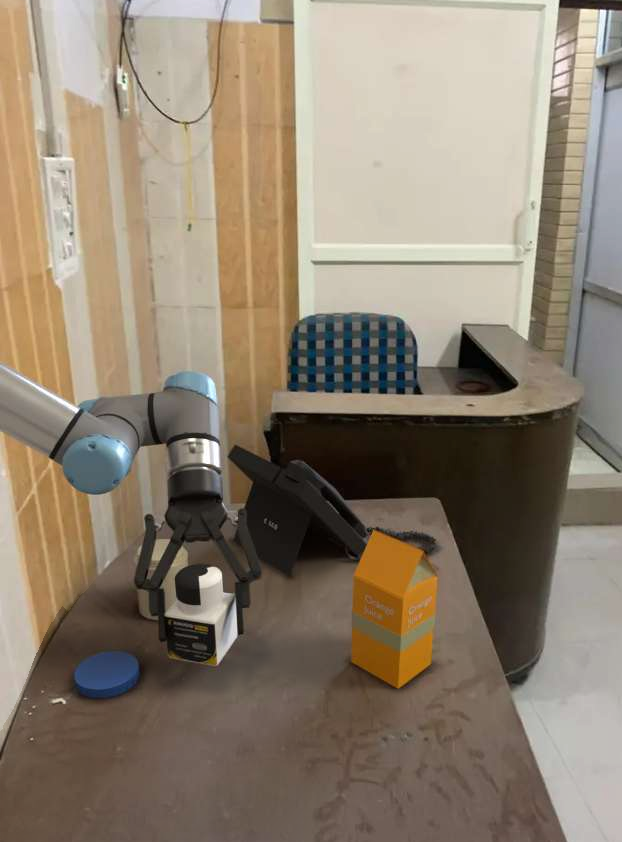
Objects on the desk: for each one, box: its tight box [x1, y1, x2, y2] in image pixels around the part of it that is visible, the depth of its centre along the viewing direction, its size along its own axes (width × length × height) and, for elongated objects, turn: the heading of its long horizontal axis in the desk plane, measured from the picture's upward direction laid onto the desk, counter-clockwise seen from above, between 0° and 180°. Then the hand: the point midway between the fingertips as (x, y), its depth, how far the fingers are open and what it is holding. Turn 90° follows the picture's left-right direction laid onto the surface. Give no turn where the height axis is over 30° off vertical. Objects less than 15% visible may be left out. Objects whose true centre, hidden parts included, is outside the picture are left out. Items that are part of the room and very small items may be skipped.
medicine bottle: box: [164, 563, 238, 667], centre depth 101 cm, size 7×7×12 cm
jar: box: [133, 538, 190, 621], centre depth 118 cm, size 8×8×10 cm
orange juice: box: [350, 529, 439, 689], centre depth 105 cm, size 8×9×20 cm
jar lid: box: [73, 650, 141, 699], centre depth 103 cm, size 8×8×2 cm
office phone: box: [227, 444, 437, 578], centre depth 137 cm, size 29×28×20 cm
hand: (201, 636), depth 99 cm, fingers closed on medicine bottle, 9 cm apart
